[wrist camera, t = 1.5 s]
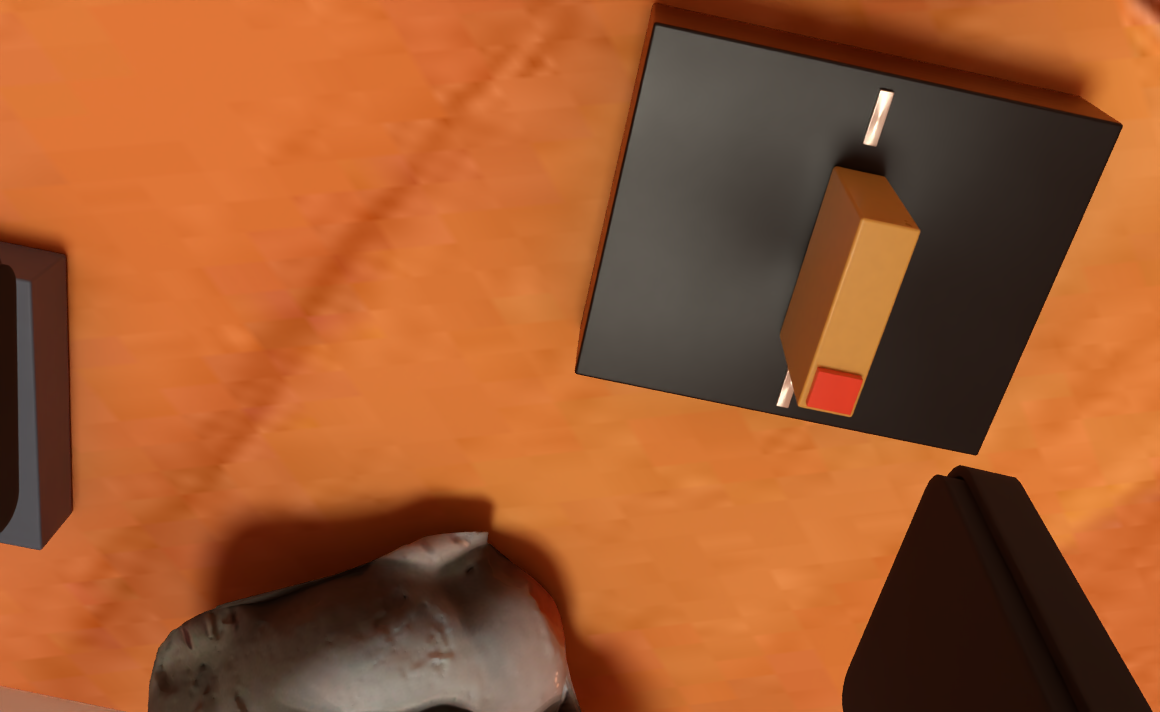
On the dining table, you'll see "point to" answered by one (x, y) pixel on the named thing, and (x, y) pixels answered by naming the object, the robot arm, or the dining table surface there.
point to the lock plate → (791, 206)
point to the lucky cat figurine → (378, 641)
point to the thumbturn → (846, 290)
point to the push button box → (40, 396)
